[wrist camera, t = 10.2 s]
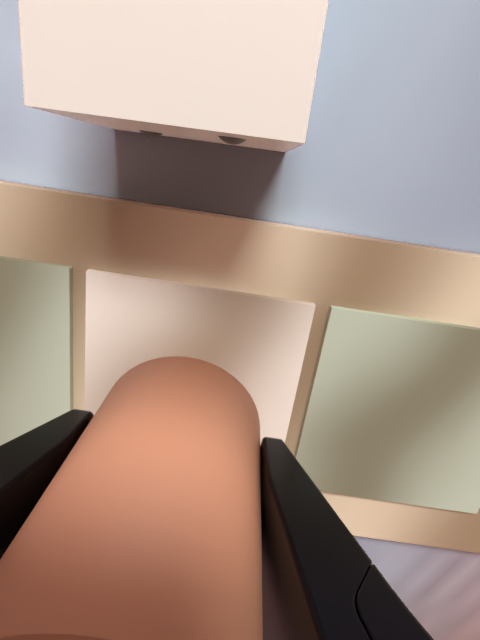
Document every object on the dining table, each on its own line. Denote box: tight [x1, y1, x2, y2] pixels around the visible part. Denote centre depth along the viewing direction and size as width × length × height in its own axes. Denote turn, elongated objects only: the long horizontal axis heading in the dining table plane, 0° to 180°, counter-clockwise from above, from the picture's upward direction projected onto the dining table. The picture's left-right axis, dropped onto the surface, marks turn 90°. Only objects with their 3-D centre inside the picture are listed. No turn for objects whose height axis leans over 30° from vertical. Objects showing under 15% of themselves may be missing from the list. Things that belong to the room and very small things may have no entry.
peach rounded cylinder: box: [0, 356, 263, 640], centre depth 6 cm, size 4×4×6 cm
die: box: [18, 0, 329, 152], centre depth 7 cm, size 4×4×4 cm
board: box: [0, 181, 480, 553], centre depth 11 cm, size 26×9×1 cm, turn 82°
